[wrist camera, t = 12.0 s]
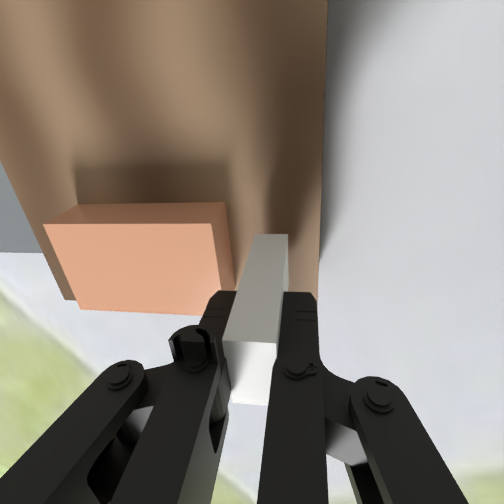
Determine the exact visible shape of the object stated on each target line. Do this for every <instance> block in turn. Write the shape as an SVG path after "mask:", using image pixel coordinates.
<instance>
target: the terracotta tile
mask: <svg viewBox="0 0 504 504" xmlns="http://www.w3.org/2000/svg"><path fill="white" fill-rule="evenodd" d="M43 226H44V228H45V230H46V233H47V235H48V237H49V239H50V242H51V244H52V246H53V248H54V251H55V253H56V255H57V257H58V260H59V262H60V264H61V266H62V269H63V271H64V273H65V276H66V278H67V280H68V282H69V285H70V287H71V289H72V291H73V294H74V296H75V298H76V300H77V303H78V305H79V307H80V309H82V310H101V311H121V312H141V313H160V314H180V315H200V316H203V313H204V311H205V310H206V306H207V304H208V301H209V299H210V298H211V297H212V296H213V295H214V294H215V293H216V292H217V291H218V290H227V291H234V290H235V287H236V285H235V277H234V269H233V261H232V253H231V245H230V237H229V229H228V221H227V212H226V204H225V202H195V203H131V204H77V205H76V206H74V207H72V208H70V209H69V210H67V211H65V212H63V213H62V214H60V215H58V216H56V217H55V218H53V219H51V220H49V221H47V222H46V223H44V224H43Z"/></svg>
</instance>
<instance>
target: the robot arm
mask: <svg viewBox="0 0 504 504" xmlns="http://www.w3.org/2000/svg"><path fill="white" fill-rule="evenodd" d="M288 286H289V272H288V234H255V235H254V239H253V242H252V245H251V248H250V251H249V255H248V258H247V261H246V264H245V267H244V271H243V274H242V277H241V280H240V284H239V287H238V290H237V291H227V290H218V291H217V292H216V293H215V294H214V295H213V296H212V297H211V298H210V299H209V301H208V304H207V306H206V310H205V311H204V313H203V316H202V318H201V320H200V323H199V325H189V326H186V327H184V328H181V329H179V330H178V331H176V332H175V333H174V334H173V335H172V336H171V337H170V339H169V340H168V341H169V345H170V348H171V352H172V356H173V359H174V362H173V363H171V364H168V365H165V366H160V367H156V368H151V369H146V370H144V368H143V366H142V364H141V363H139V362H137V361H134V360H125V361H120V362H118V363H115V364H113V365H111V366H110V367H108V368H107V369H106V370H105V371H103V372H102V373H101V374H100V375H99V376H98V377H97V378H96V379H95V380H94V382H93V383H92V384H91V385H90V386H89V387H88V388H87V389H86V390H85V391H84V392H83V393H82V394H81V395H80V396H79V397H78V398H77V399H76V400H75V401H74V402H73V403H72V404H71V405H70V406H69V407H68V409H67V410H66V411H65V412H64V413H63V414H62V415H61V416H60V417H59V418H58V419H57V420H56V421H55V422H54V423H53V424H52V425H51V426H50V427H49V428H48V429H47V430H46V431H45V432H44V433H43V435H42V436H41V437H40V438H39V439H38V440H37V441H36V442H35V443H34V444H33V445H32V446H31V447H30V448H29V449H28V450H27V451H26V452H25V453H24V454H23V455H22V456H21V457H20V458H19V459H18V461H17V462H16V463H15V464H14V465H13V466H12V467H11V468H10V469H9V470H8V471H7V472H6V473H5V474H4V475H3V476H2V477H1V478H0V504H210V503H211V499H212V494H213V489H214V485H215V480H216V476H217V471H218V466H219V462H220V457H221V453H222V448H223V443H224V439H225V434H226V430H227V425H228V420H229V412H228V407H227V406H228V402H229V398H230V394H231V399H232V403H242V404H253V405H264V406H268V411H267V420H266V428H265V437H264V446H263V455H262V464H261V472H260V481H259V490H258V499H257V504H329V502H328V483H327V464H326V454H328V455H330V456H332V457H334V458H336V459H338V460H340V461H342V462H344V464H345V467H346V470H347V473H348V476H349V479H350V482H351V485H352V488H353V492H354V495H355V498H356V501H357V504H469V503H468V502H467V500H466V498H465V496H464V495H463V493H462V491H461V490H460V488H459V486H458V484H457V483H456V481H455V479H454V478H453V476H452V474H451V472H450V471H449V469H448V467H447V466H446V464H445V462H444V461H443V459H442V457H441V455H440V454H439V452H438V450H437V449H436V447H435V445H434V443H433V442H432V440H431V438H430V437H429V435H428V433H427V432H426V430H425V428H424V426H423V425H422V423H421V421H420V420H419V418H418V416H417V414H416V413H415V411H414V409H413V408H412V406H411V404H410V403H409V401H408V399H407V397H406V396H405V395H404V393H403V392H402V391H401V390H400V388H399V387H398V386H396V385H395V384H393V383H392V382H390V381H389V380H386V379H383V378H380V377H372V376H367V377H364V378H361V379H358V380H357V381H356V382H355V383H354V382H351V381H348V380H345V379H343V378H340V377H338V376H336V375H334V374H333V373H331V372H330V371H328V369H327V368H326V367H325V366H324V365H323V363H322V361H321V359H320V354H319V336H318V316H317V301H316V299H315V298H314V296H313V295H312V294H311V292H289V291H288Z"/></svg>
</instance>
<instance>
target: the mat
mask: <svg viewBox="0 0 504 504" xmlns="http://www.w3.org/2000/svg"><path fill="white" fill-rule="evenodd" d="M0 252H14V253H43V252H42V250H41V248H40V245H39V243H38V241H37V239H36V237H35V235H34V232H33V230H32V228H31V226H30V224H29V222H28V220H27V217H26V215H25V213H24V211H23V209H22V207H21V205H20V202H19V200H18V198H17V196H16V194H15V192H14V189H13V187H12V185H11V183H10V181H9V179H8V177H7V174H6V172H5V170H4V168H3V166H2V164H1V161H0Z"/></svg>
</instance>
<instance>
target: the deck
mask: <svg viewBox="0 0 504 504" xmlns="http://www.w3.org/2000/svg"><path fill="white" fill-rule="evenodd" d="M327 15H328V0H0V161H1V164H2V166H3V168H4V170H5V172H6V174H7V177H8V179H9V181H10V183H11V185H12V187H13V189H14V192H15V194H16V196H17V198H18V200H19V202H20V205H21V207H22V209H23V211H24V213H25V215H26V217H27V220H28V222H29V224H30V226H31V228H32V230H33V232H34V235H35V237H36V239H37V241H38V243H39V245H40V248H41V250H42V252H43V254H44V256H45V258H46V260H47V263H48V265H49V267H50V269H51V271H52V273H53V276H54V278H55V280H56V282H57V284H58V286H59V288H60V291H61V293H62V295H63V297H64V299H65V300H76V298H75V296H74V294H73V291H72V289H71V287H70V285H69V282H68V280H67V278H66V276H65V273H64V271H63V269H62V266H61V264H60V262H59V260H58V257H57V255H56V253H55V251H54V248H53V246H52V244H51V242H50V239H49V237H48V235H47V233H46V230H45V228H44V226H43V224H44V223H46V222H47V221H49V220H51V219H53V218H55V217H56V216H58V215H60V214H62V213H63V212H65V211H67V210H69V209H70V208H72V207H74V206H76V205H77V204H131V203H195V202H225V204H226V212H227V221H228V229H229V237H230V245H231V253H232V261H233V269H234V277H235V285H236V287H235V290H234V291H237V290H238V287H239V284H240V280H241V277H242V274H243V271H244V267H245V264H246V261H247V258H248V255H249V251H250V248H251V245H252V242H253V239H254V235H255V234H288V272H289V286H288V291H289V292H311V294H312V295H313V296H314V298H315V299H316V301H317V300H318V271H319V243H320V214H321V186H322V157H323V129H324V100H325V72H326V43H327Z"/></svg>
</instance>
